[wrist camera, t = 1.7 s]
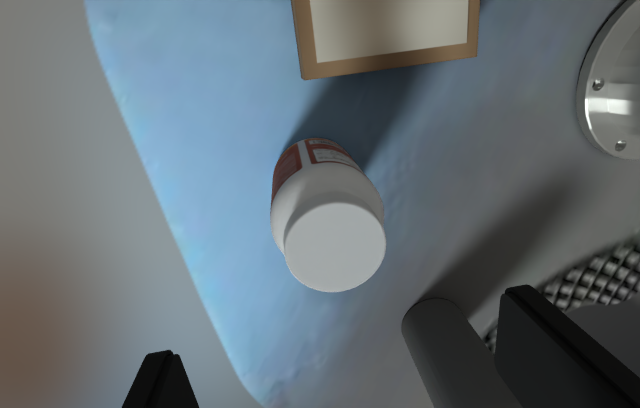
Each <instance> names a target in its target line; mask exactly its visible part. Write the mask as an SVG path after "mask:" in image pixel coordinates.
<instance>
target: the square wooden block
mask: <svg viewBox="0 0 640 408" xmlns="http://www.w3.org/2000/svg"><path fill="white" fill-rule="evenodd" d="M291 5H292V12H293V20H294V27H295V34H296V42H297V49H298V56H299V64H300V71H301V78H302V79H304V80H311V79H318V78H325V77H333V76H340V75H347V74H354V73H362V72H369V71H376V70H384V69H391V68H398V67H406V66H413V65H420V64H428V63H435V62H442V61H449V60H457V59H464V58H471V57H477V47H478V27H479V8H480V0H291Z"/></svg>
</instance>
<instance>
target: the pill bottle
mask: <svg viewBox="0 0 640 408" xmlns="http://www.w3.org/2000/svg"><path fill="white" fill-rule="evenodd" d="M270 220H271V230H272V234H273V237H274V240H275V242H276V244H277V246H278V247H279V249H280V250H281V251H282V253H283V254H284V255H285V259H286V263H287V265H288V267H289V269H290V271H291V272H292V274H293V275H294V276H295V277H296V278H297V279H298V280H299V281H300V282H301V283H303V284H304V285H306V286H308V287H310V288H312V289H315V290H319V291H324V292H340V291H345V290H349V289H352V288H354V287H357V286H358V285H360V284H362V283H364V282H365V281H366V280H368V279H369V278H370V277H371V276H372V275H373V274H374V273H375V272H376V270H377V269H378V268H379V266H380V265H381V262H382V260H383V258H384V255H385V250H386V236H385V232H384V229H383V223H384V208H383V204H382V200H381V198H380V195H379V193H378V191H377V190H376V188H375V187H374V185H373V184H372V182H371V181H370V180H369V179H368V178H367V176H366V175H365V174H364V173H363V171H362V170H361V169H360V168H359V166H358V165H357V164H356V162H355V161H354V160H353V159H352V157H351V156H350V155H349V154H348V153H347V151H346V150H345V149H344V148H342V147H341V146H340V145H338V144H337V143H335V142H333V141H330V140H328V139H323V138H308V139H304V140H301V141H298V142H296V143H295V144H293V145H291V146H290V147H289V148H288V149H287V150H286V151H285V152H284V153H283V154H282V155H281V157H280V158H279V160H278V162H277V164H276V166H275V170H274V174H273V184H272V200H271V212H270Z"/></svg>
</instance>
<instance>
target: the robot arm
mask: <svg viewBox="0 0 640 408" xmlns="http://www.w3.org/2000/svg"><path fill="white" fill-rule="evenodd" d="M576 109H577V115H578V121H579V123H580V126H581V128H582V131H583V133H584V135H585V136H586V137H587V139H588V140H589V141H590V143H591V144H592V145H593V146H595V147H596V148H597V149H599V150H600V151H601V152H604V153H606V154H609V155H611V156H614V157H618V158H623V159H626V160H640V0H627V1H626V2H625V3H624V4H623V5H622V6H621V7H620V8H619V9H618V10H617V11H616V12H615V13H614V14H613V15H612V16H611V17H610V18H609V20H608V21H607V22H606V24H605V25H604V26H603V28H602V29H601V31H600V32H599V33H598V35H597V36H596V38H595V40H594V42H593V44H592V45H591V47H590V49H589V51H588V53H587V55H586V58H585V61H584V63H583V66H582V69H581V71H580V76H579V81H578V85H577V93H576ZM494 363H495V367H496V370H497V372H498V374H499V375H500V377H501V378H502V379H503V381H504V382H505V384H506V385H507V386H508V388H509V389H510V390H511V392H512V393H513V395H514V396H515V397H516V399H517V400H518V401H519V403H520V404H521V406H522V407H523V408H640V378H639V377H638V376H637V375H636V374H634V373H633V372H632V371H631V370H630V369H628V368H627V367H626V366H625V365H624V364H623V363H621V362H620V361H619V360H618V359H617V358H615V357H614V356H613V355H612V354H611V353H610V352H608V351H607V350H606V349H605V348H604V347H602V346H601V345H600V344H599V343H598V342H596V341H595V340H594V339H593V338H592V337H591V336H590V335H588V334H587V333H586V332H585V331H584V330H582V329H581V328H580V327H579V326H578V325H577V324H575V323H574V322H573V321H572V320H571V319H569V318H568V317H567V316H566V315H565V314H564V313H562V312H561V311H560V310H559V309H558V308H557V307H555V306H554V305H553V304H552V303H551V302H550V301H548V300H547V299H546V298H545V297H544V296H542V295H541V294H540V293H539V292H538V291H537V290H535V289H534V288H533V287H532V286H530V285H527V284H526V285H521V286H515V287H510V288H507V289H506V290H505V294H502V295H501V298H500V308H499V318H498V328H497V338H496V348H495V358H494ZM122 408H199V406H198V403H197V400H196V398H195V395H194V392H193V390H192V387H191V385H190V382H189V380H188V377H187V374H186V371H185V369H184V366H183V363H182V361H181V358H180V356H179V355H178V354H175V355H174V354H173V352H172V351H171V350H166V351H161V352H155V353H150V354H148V355H146V357H145V359H144V361H143V362H142V365H141V367H140V369H139V371H138V373H137V376H136V378H135V380H134V382H133V384H132V386H131V388H130V391H129V393H128V395H127V397H126V399H125V401H124V404H123V406H122Z"/></svg>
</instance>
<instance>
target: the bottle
mask: <svg viewBox="0 0 640 408" xmlns="http://www.w3.org/2000/svg"><path fill="white" fill-rule="evenodd" d="M402 334H403V337H404V339H405V342H406V344H407V346H408V349H409V351H410V353H411V356H412V358H413V360H414V363H415V365H416V367H417V369H418V372H419V374H420V376H421V378H422V381H423V383H424V385H425V387H426V390H427V392H428V394H429V396H430V399H431V401H432V403H433V405H434V408H523V407H522V406H521V404H520V403H519V401H518V400H517V399H516V397H515V396H514V395H513V393H512V392H511V390H510V389H509V388H508V386H507V385H506V384H505V382H504V381H503V379H502V378H501V377H500V375H499V374H498V372H497V370H496V367H495V363H494V358H495V357H494V356H493V355H492V353H491V352H490V351H489V349H488V348H487V346H486V345H485V344H484V342H483V341H482V340H481V338H480V337H479V336H478V334H477V333H476V331H475V330H474V329H473V327H472V326H471V325H470V323H469V322H468V320H467V319H466V318H465V316H464V315H463V314H462V312H461V311H460V310H459V308H458V307H457V306H456V305H455V304H454V303H452V302H450V301H448V300H446V299H440V298H434V299H428V300H425V301H422V302H420V303H418V304H416V305H415V306H414V307H412V308H411V309H410V310H409V311H408V312H407V314H406V315H405V317H404V319H403V321H402Z"/></svg>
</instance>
